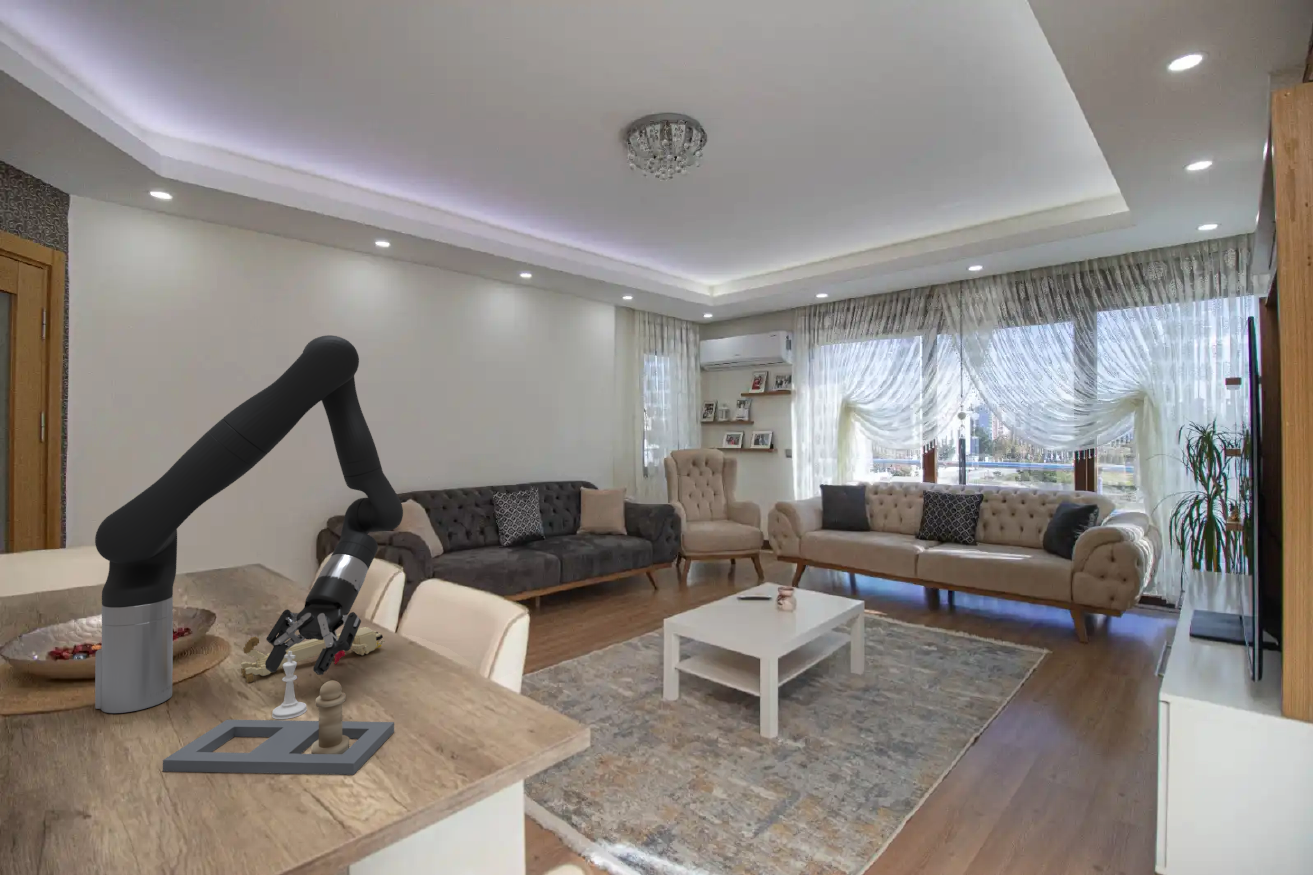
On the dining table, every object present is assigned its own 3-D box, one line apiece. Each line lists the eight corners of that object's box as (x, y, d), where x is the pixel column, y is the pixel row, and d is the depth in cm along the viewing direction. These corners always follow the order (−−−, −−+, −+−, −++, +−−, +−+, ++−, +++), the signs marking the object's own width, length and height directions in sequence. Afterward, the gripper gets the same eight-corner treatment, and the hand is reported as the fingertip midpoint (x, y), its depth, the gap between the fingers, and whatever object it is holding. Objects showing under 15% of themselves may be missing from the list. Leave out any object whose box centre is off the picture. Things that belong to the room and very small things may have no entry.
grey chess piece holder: (162, 771, 83) (162, 760, 83) (227, 729, 95) (227, 719, 95) (353, 774, 82) (353, 763, 82) (394, 731, 94) (394, 722, 94)
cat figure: (251, 694, 111) (392, 650, 128) (246, 647, 111) (388, 609, 128) (240, 679, 118) (374, 639, 136) (235, 634, 118) (371, 600, 135)
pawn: (304, 759, 86) (304, 687, 86) (323, 742, 91) (323, 674, 91) (338, 760, 86) (338, 688, 86) (355, 743, 91) (355, 675, 91)
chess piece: (290, 721, 98) (291, 657, 98) (264, 718, 99) (264, 655, 99) (313, 707, 103) (314, 647, 103) (288, 705, 104) (288, 645, 104)
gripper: (292, 573, 111) (241, 659, 100) (365, 575, 110) (322, 663, 98) (312, 595, 117) (266, 679, 105) (382, 597, 115) (343, 683, 103)
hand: (293, 671), depth 102 cm, fingers open, 8 cm apart
